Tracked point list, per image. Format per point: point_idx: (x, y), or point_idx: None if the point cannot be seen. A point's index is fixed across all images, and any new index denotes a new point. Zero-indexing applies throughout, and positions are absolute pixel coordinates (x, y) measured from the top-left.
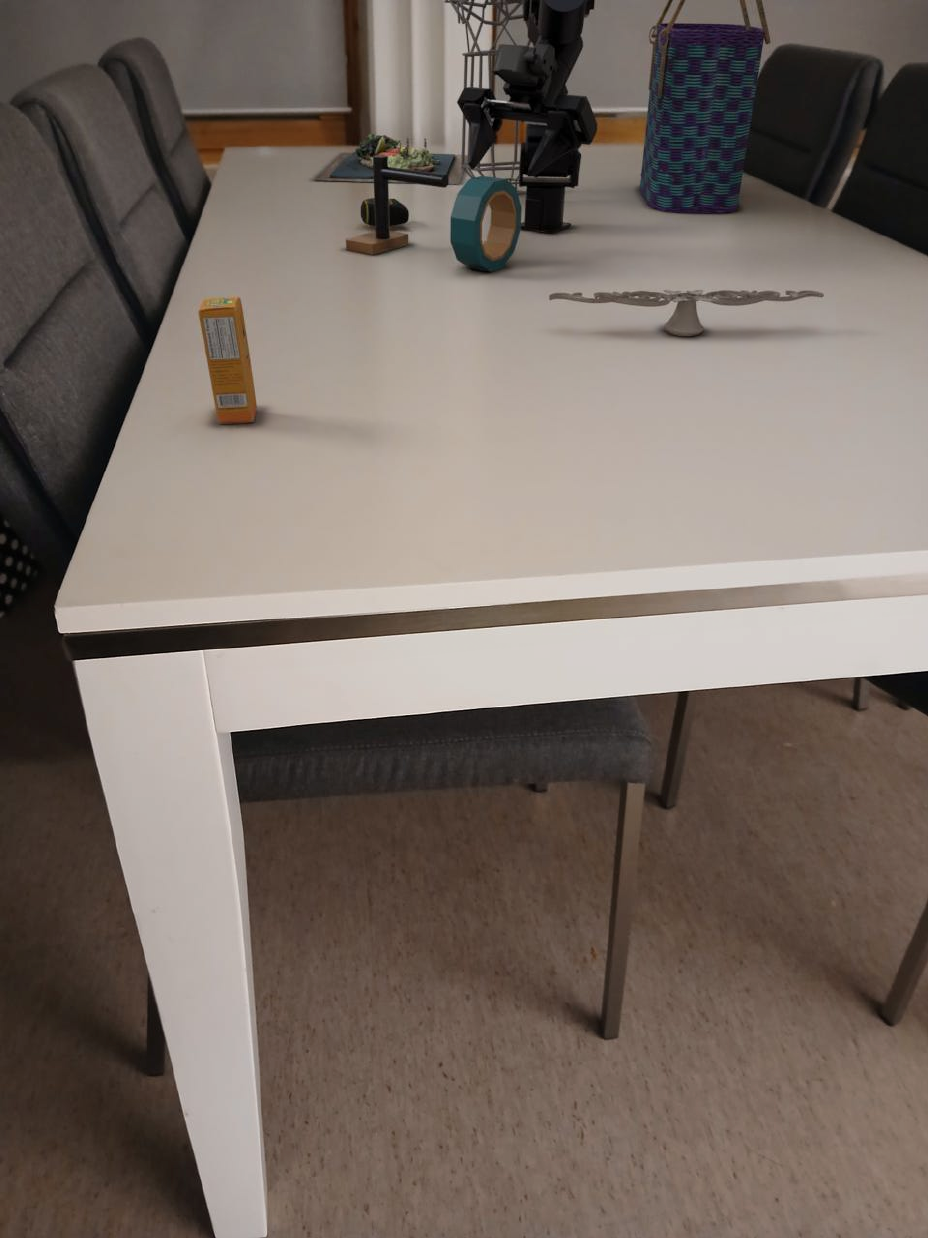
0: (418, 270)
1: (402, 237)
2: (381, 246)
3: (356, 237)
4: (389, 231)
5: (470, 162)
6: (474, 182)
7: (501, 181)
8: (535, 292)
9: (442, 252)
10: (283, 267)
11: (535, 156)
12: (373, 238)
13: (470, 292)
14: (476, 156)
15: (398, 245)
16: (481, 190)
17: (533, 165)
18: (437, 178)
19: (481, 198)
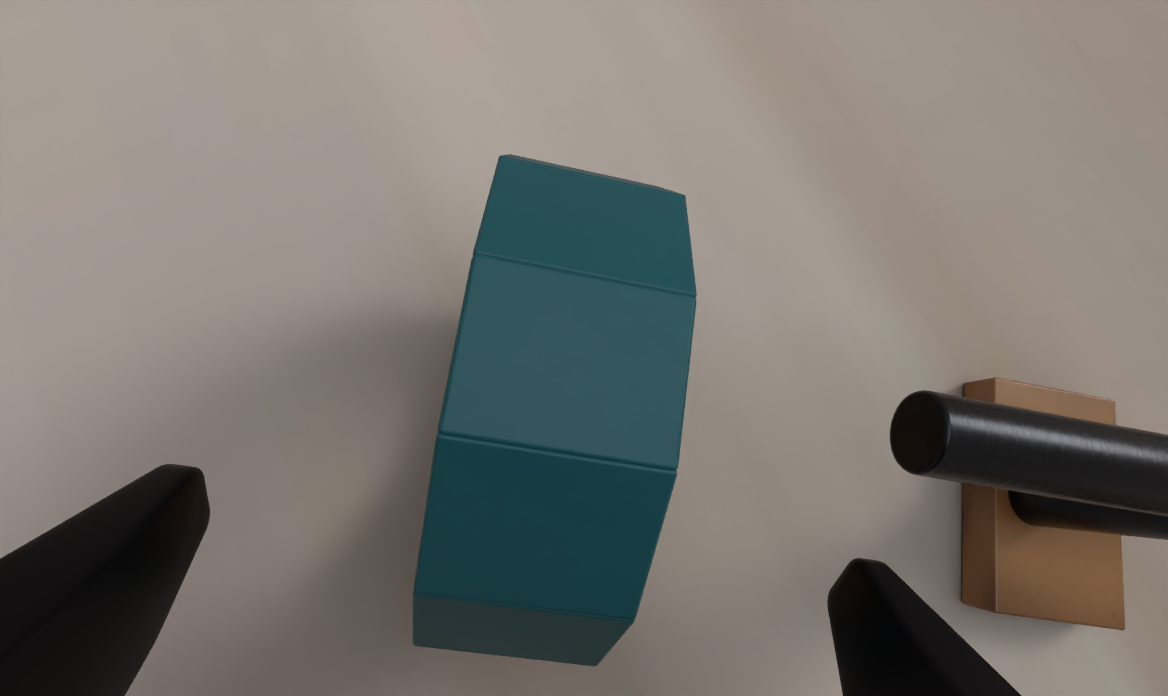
0: (722, 267)
1: (988, 566)
2: None
3: None
4: (1030, 505)
5: (866, 564)
6: (628, 259)
7: (451, 362)
8: (212, 176)
9: (789, 560)
10: (1068, 124)
11: (50, 573)
12: None
13: (433, 90)
14: (885, 674)
15: (967, 535)
16: (532, 200)
17: (114, 495)
18: (964, 399)
19: (501, 157)
